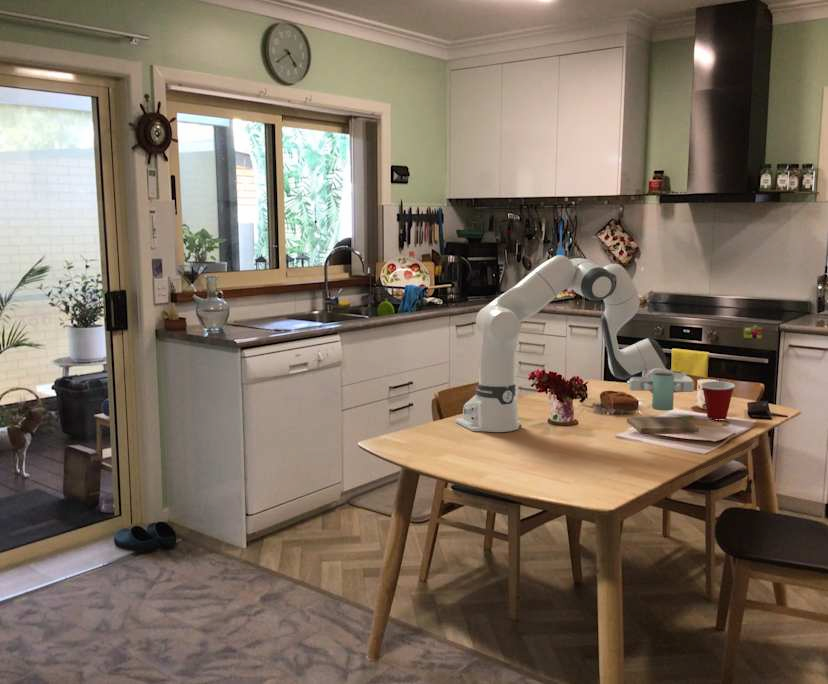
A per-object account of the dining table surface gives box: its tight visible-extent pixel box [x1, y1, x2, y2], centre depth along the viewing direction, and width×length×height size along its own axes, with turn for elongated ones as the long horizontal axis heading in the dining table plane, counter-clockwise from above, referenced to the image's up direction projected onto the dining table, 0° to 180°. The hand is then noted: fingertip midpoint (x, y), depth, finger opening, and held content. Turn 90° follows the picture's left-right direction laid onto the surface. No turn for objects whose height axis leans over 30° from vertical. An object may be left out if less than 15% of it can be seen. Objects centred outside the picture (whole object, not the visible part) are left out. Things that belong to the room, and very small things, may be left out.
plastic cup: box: [700, 380, 736, 421], centre depth 269 cm, size 11×11×12 cm
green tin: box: [651, 373, 675, 411], centre depth 257 cm, size 6×6×11 cm
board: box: [626, 416, 700, 434], centre depth 258 cm, size 18×16×2 cm
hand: (663, 388), depth 256 cm, fingers closed on green tin, 6 cm apart
